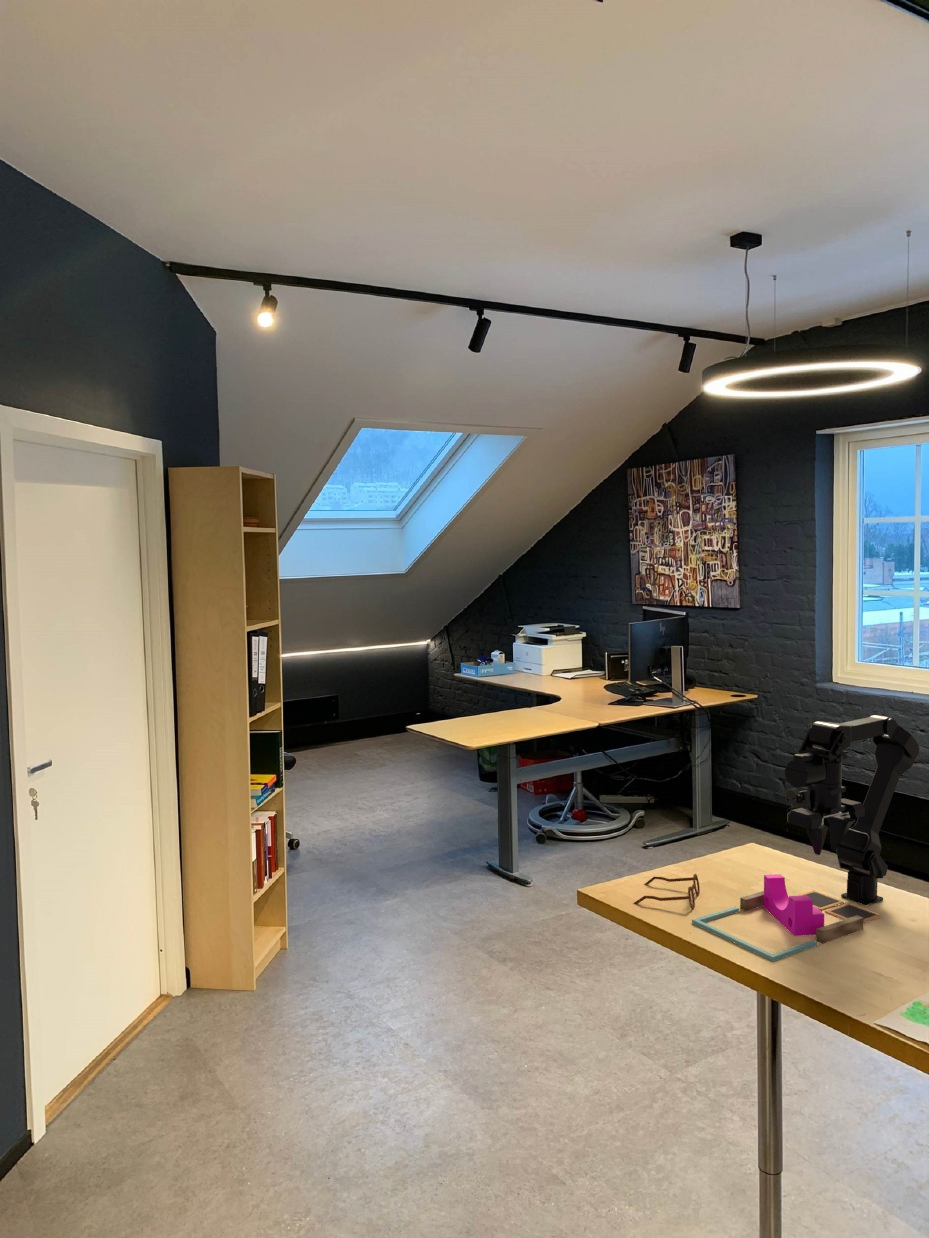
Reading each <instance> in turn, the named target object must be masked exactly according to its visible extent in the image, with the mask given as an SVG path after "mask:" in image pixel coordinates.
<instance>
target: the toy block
mask: <svg viewBox="0 0 929 1238" xmlns="http://www.w3.org/2000/svg"><path fill="white" fill-rule="evenodd" d="M763 891H764V906H763V908H764V909H765V911H767V912H768V913H769V912H770V913H771V914H770V913H769V914H770V915H771V916H772V915H773V916H774V917H773V916H772V917H773V918H774V919H776V920H777V922H779V923H780V924H781V925H782V926H783V927H784V928H785V927H786V928H785V929H786V930H787V929H788V930H789V931H788V930H787V931H788V932H790V934H791V935H792V936H794V937H799V936H800V937H802V936H803V935H804V936H805V937H806V936H816V929H818V928H821V927H824V926H825V913H824V912H823V911H820V910H819V909H818V908H816V907H815V906H813V900H812V899H811V898H809V897H808V896H807V895H802V896H797V895H789V893H788V892H787V888H786V879H785V876H784V875H782V874H780V873H779V874H778V873H777V874H776V873H775V874H774V873H773V874H763ZM804 936H803V937H804Z"/></svg>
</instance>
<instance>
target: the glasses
mask: <svg viewBox="0 0 929 1238" xmlns="http://www.w3.org/2000/svg"><path fill="white" fill-rule="evenodd" d="M654 880H661V881H665V882H668V883H671V882H672V883H674V882H675V883H676V882H689V881H692V882H693V883H692V884H691V886H688V889H687V895H686V896H685V895H682V896H671V897H670V896H668V897H666V896H665V897H659V896H654V895H644V896H642V897H641V898H639V899H637V900H635V901H634V902H633V903H632V904H634V905H638V904H640V903H641V902H643V901H644V900H646V899H649V900H651V899H652V900H655V901H659V902H662V901H663V902H664V901H680V900H681V901H682V900H683V901H685V900H688V903H689V907H690V909H691V910H694V909H695V907H696V899H695V895H696V897H697V896H700V891H701V890H700V882H699V877H698V874H696V873H693V876H692V877H678V878H667V877H664V876H652V877H651V878H650V879H649V880H648V881H647V882H645V883H644V884H643V885H644V886H648V885H649V884H651V883H652V882H653V881H654Z"/></svg>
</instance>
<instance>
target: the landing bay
mask: <svg viewBox="0 0 929 1238" xmlns="http://www.w3.org/2000/svg"><path fill="white" fill-rule="evenodd" d="M736 912H737V913H739V912H740V907H737V906H734V907H730V908H727V909H723V910H720V911H717V912H716V911H715V912H713V913H710V914H706V915H704V916H699V917H696V918H692V919H691V924H693V925H695V926H697V927H700V928H701V927H702V928H701V929H704V930H705V929H706V930H705V931H707V930H708V932H710V933H711V934H714V933H715V934H714V935H716V934H717V935H716V936H718V937H720V936H721V938H722V937H723V938H722V939H724V938H726V939H725V940H727V941H729V940H730V941H729V942H731V941H732V942H731V943H733V942H735V943H736V944H735V943H734V944H735V945H737V944H738V945H737V946H739V945H741V946H742V948H743V949H746V950H748V949H749V950H748V951H751V952H752V953H754V952H755V953H754V954H756V955H758V954H759V955H758V956H761V957H763V956H764V957H763V958H765V959H767V960H769V961H771V962H775V961H778V960H781V959H783V958H784V959H785V958H786V956H787V957H789V956H791V955H796V954H798V953H801V952H803V951H806V950H810V949H812V948H815V947H817V946H818V943H819V942H817V941H816V939H815V940H814V939H812V940H809V941H806V942H804V943H800V944H797V945H794V946H791V947H789V948H786V949H783V950H780V951H778V952H774V953H771V952H769V951H766V950H765V949H762V948H760V947H758V946H756V945H754V944H751V943H749V942H747V941H745V940H742V939H741V938H738V937H736V936H734V935H732V934H730V933H727V932H725V931H723V930H721V929H719V928H716V927H715V926H712V925H710V924H708V923H707V922H710V921H712V920H717V919H720V918H723V916H724V917H727V916H731V915H733V914H736ZM741 946H740V947H741ZM805 949H806V950H805Z"/></svg>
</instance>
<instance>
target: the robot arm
mask: <svg viewBox="0 0 929 1238" xmlns="http://www.w3.org/2000/svg"><path fill="white" fill-rule="evenodd" d="M868 739H870V741H871V743H872V744H873V745H874V747H875V749H874V754H873V755H874V758H875V763H876V766H877V767H876V770H875V772H874V775H873V778H872V779H871V780H872V781H871V783H870V786H869V788H868V790H867V793H866V796H865V799H864V801H863V803H862V802H860V801H856V800H851V799H848V798H842V793H846V791H847V787H846V786H843V785H842V783H843V782H842V780H843V778H842V777H843V761H844V760H848V759H849V755H848V754H847V753H846V752H844V751H845V750H847V749H849V748H852V747H851V746H852V744H853V743H855V742H860V741H865V740H868ZM801 743H802V744H801V746H800V748H799V750H798V753H796V754H793V757H792V758H793V759H792V760H790V761H789V762H787V764H786V767H785V769H784V775H785V776H784V777H785V779H786V780H787V783H788V784H789V785H790V786H792V787H793V788H789V789H786V790H785V802H786V803H787V804H788V805H791V808H792V809H790V811H788V812H787V819H786V820H787V823H788V824H790V825H794V826H796V827H799V828H803V829H805V831H806V832H807V835H808V837H809V841H810V844H811V846H812V850H813V853H814V855H817V856H820V855H821V854H822V850H823V848H824V844H825V840H826V837H827V834H828V830H829V842H830V843H829V844H830V849H831V851H835V852H836V856H837V861H838V864H839V868H840V869H843V870H846V871H848V872H847V879H846V892H843V893H841V894H840V896H841V898H844V899H847V900H850V901H852V902H855V903H858V904H860V905H862V906H869V905H873V904H876V903H878V902H881V901H884V897H883V896H879V895H878V879H883V878H884V877H885V876H887V872H888V868H889V865H888V864H887V863H886V862H885V860H884V859H883V858H882V856H881V851H882V845H881V840H880V836H879V833H880V830H881V828H882V826H883V823H884V821H885V817H886V814H887V812H888V809H889V806H890V804H891V801H892V798H893V796H894V793H895V790H896V788H897V784H898V782H899V779H900V777H901V775H903V774H904V773H906V772H907V771H909V769H911V768H912V766H913V765H914V763H915V761H916V760H917V757H918V756H919V753H920V745H919V744H918V742H917V741H916V739H915V738H914V736H913V735H912V734H911V733H910V732H909V731H907V730H906V729H904V728H903V727H901V725H899V724H898V723H897V721H896V720H895V719H893V718H892V717H890V716H886V715H885V716H884V715H877V714H874V715H870V716H869V717H868V716H867V717H864V718H859V719H854V720H850V721H845V722H831V721H818V720H817V721H815V722H813V723H812V724H811V727H810V728H809V729H808V731H807V733H806V735H805V738H804V739H803V741H802V742H801ZM805 787H806V789H807V790H801V791H799V790H798V789H799V788H805ZM802 806H804V807H805V808H803V807H802ZM797 807H799V808H797ZM810 809H811V810H810ZM851 814H852V815H853V817H854V818H853V817H852V818H851ZM855 818H857V820H856V819H855ZM825 819H826V821H827V823H828V825H829V826H827V825H824V820H825ZM855 822H856V823H855ZM853 823H855V824H854V825H853ZM852 825H853V826H852Z"/></svg>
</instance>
